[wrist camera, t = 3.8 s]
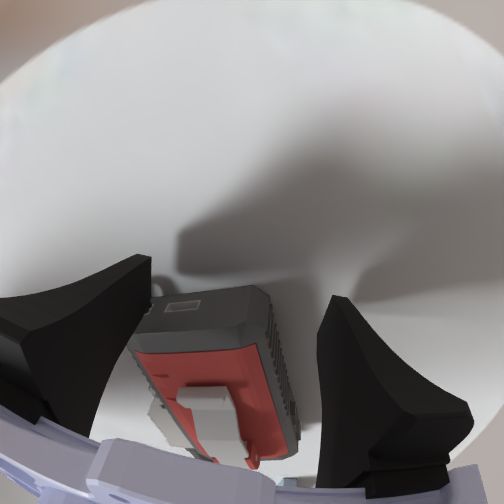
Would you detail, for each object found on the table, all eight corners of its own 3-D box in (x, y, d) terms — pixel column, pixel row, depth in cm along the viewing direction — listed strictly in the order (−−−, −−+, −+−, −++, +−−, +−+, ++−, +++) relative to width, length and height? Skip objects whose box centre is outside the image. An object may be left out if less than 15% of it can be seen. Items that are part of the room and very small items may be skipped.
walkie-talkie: (96, 280, 15) (211, 466, 23) (50, 333, 11) (202, 507, 19) (266, 253, 13) (310, 464, 21) (258, 321, 9) (310, 509, 18)
